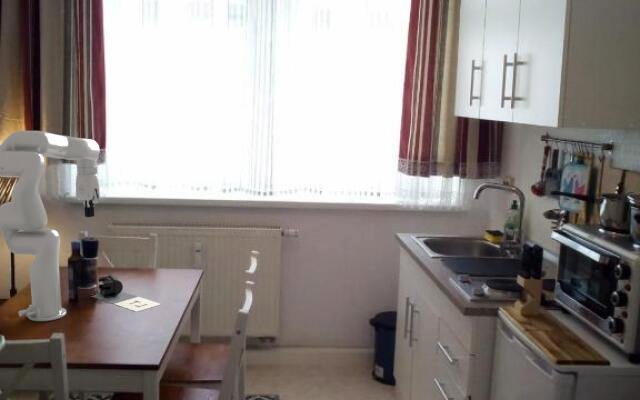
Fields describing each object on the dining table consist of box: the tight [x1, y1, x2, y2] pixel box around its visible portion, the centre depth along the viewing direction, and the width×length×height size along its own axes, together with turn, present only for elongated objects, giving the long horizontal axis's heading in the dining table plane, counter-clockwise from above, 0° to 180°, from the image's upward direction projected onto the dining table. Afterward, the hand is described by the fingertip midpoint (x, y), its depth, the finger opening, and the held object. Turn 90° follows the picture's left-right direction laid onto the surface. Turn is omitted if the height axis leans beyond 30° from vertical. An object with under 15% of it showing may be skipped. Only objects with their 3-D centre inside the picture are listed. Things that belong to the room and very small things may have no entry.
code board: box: [114, 296, 162, 313], centre depth 249 cm, size 11×14×1 cm
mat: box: [91, 290, 138, 305], centre depth 258 cm, size 11×16×1 cm
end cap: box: [97, 273, 124, 298], centre depth 260 cm, size 10×7×7 cm
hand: (89, 216), depth 265 cm, fingers closed
